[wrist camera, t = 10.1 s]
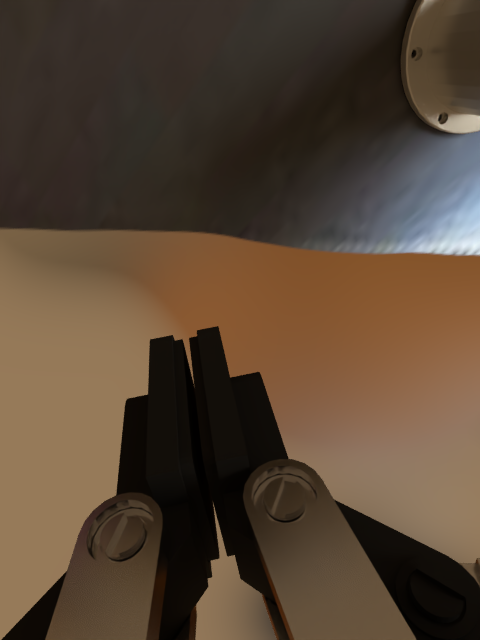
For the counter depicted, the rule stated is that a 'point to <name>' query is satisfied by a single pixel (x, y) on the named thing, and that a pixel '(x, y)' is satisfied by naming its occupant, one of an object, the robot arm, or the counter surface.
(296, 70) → the counter surface
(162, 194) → the counter surface
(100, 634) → the robot arm
